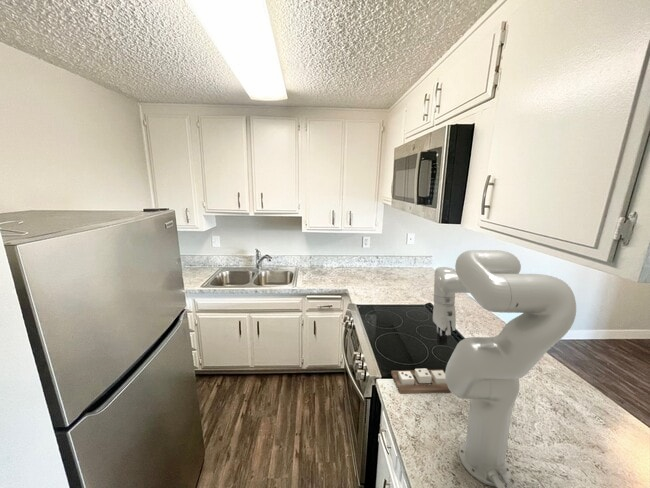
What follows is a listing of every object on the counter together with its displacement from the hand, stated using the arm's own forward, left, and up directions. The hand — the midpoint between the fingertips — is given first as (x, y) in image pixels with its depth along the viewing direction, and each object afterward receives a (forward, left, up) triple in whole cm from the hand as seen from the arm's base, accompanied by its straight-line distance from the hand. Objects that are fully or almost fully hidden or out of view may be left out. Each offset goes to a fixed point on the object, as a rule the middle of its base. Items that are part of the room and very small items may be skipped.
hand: (441, 343), depth 102 cm
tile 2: (+2, +6, -17) cm, 18 cm away
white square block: (+2, +13, -18) cm, 22 cm away
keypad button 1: (+2, -1, -18) cm, 18 cm away
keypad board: (+2, +6, -19) cm, 20 cm away
